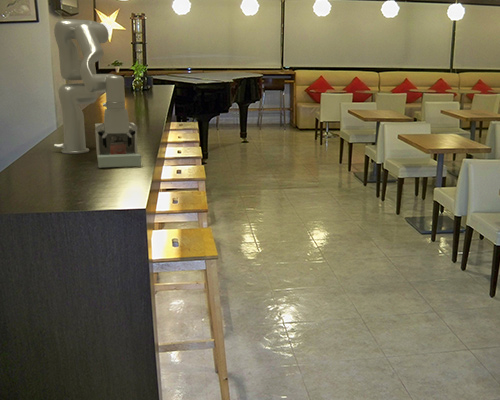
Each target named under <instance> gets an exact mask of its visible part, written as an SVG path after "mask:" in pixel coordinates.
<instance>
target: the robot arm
mask: <svg viewBox="0 0 500 400" xmlns="http://www.w3.org/2000/svg"><path fill="white" fill-rule="evenodd" d="M53 31H54V32H53V33H54V39H55V42H56V45H57V47H58V55H59V56H58V59H59V69H60V71H59V72H60V76H61V78H62V79H63V80H65V81H82V82H81V83H78V82H76V83H74V82H73V83H65V84H62V85H60V87H59V89H58V99H59V102H60V107H61V113H62V115H61V116H62V117H61V118H62V127H63V142H62V143H54V149H61V153H62V154H67V155H68V154H69V155H73V154H74V155H77V154H85V153H89V151H90V149H89V147H86V131H85V115H84V112H83V110H82V109H81V108H80V106H79V105H87V104H94V103H95V102H96V101H97V99H98V93H105V101H106V102H103V103H102V107H105V109H104V113H103V114H104V115H103V122H102V123H103V124H101V125H99V126H97V127H95V126H94V127H95V128H94V129H96V131H97V133H98V134H99V135H100V136H101V137H102V138H103V145H105V148H106V147H107V145H106V135H107V134H127V135H128V147H130V145H132V143H131V137H132V136H133V135H134V134H135V133H136V131H137V132H138V128H139V127H138V126H137V125H136V124H135V125H133V124H131V123H132V122H130V121H129V120H130V119H129V113H128V112H129V111H128V109H127V108H126V99H125V98H126V96H125V95H126V93H125V78H124V77H123V76H122V75H116V74H113V73H97V70H96V65H95V63H97V62H99V61H100V60H101V59H102V58H103V56H104V50H103V47H102V45H101V44H105V43H107V42H108V40H109V37H110V34H109V30H108V28H107V27H106V25H105V24H103V23H100V22H97V21H94V20H91V19H74V18H73V19H72V18H71V19H70V18H64V19H60V20H58V21H57V22H55V24H54V30H53ZM73 40H76V41H77V44H78V45H77V44H76V42H75V41H73ZM78 46H79V48H80V51H81V53H82V56H83V58H80V55H79V54H80V53H79V49H78ZM129 126H130V127H132V128H134V129H133V131H132V132H131V133H130V132H129ZM102 127H104V131H105V132H104V133H101V132H100V130H99V129H100V128H102Z"/></svg>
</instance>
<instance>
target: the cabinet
mask: <svg viewBox="0 0 500 400" xmlns="http://www.w3.org/2000/svg"><path fill="white" fill-rule="evenodd" d="M103 123H104V122H102V123H100V122H99V123H94V127H97V126H99V125H101V124H103ZM130 123H131V124H133V125H135V126H136V124H135V123H134V122H130ZM94 129H95V128H94ZM133 129H134V128H132V127H130V126H129V132H130V133H131V132H132V131H133ZM99 130H100V132H101V133H104V132H105V131H104V127H102V128H100V129H99ZM94 133H95V145H96V146H95V147H96V149H95V150H96V157H97V161H98V155H101V153H110V145H109V143H110V142H114V141H113V140H111V137H116V136H123V141H126V152H134V154H139V152H138V130H137V131H136V133H135V134H134V135H133V136H132V137H131V143H132V145H130V147H128V135H127V134H107V135H106V145H107V147H106V148H105V145H103V138H102V137H101V136H100V135H99V134H98V133H97V131H96V129H95V131H94Z"/></svg>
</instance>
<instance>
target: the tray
mask: <svg viewBox="0 0 500 400" xmlns="http://www.w3.org/2000/svg"><path fill="white" fill-rule="evenodd" d="M97 165H98V168H100V169H101V168H117V167H119V168H121V167H123V168H124V167H140V166H142V155H141V153H138V154H134V152H126V154H116V155H110V153H101V155H98V160H97Z"/></svg>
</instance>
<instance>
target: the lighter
mask: <svg viewBox="0 0 500 400" xmlns="http://www.w3.org/2000/svg"><path fill="white" fill-rule="evenodd" d="M111 140H113V141H114V142H110V143H109V145H110V155H116V154H126V141H123V136H116V137H111Z"/></svg>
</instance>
